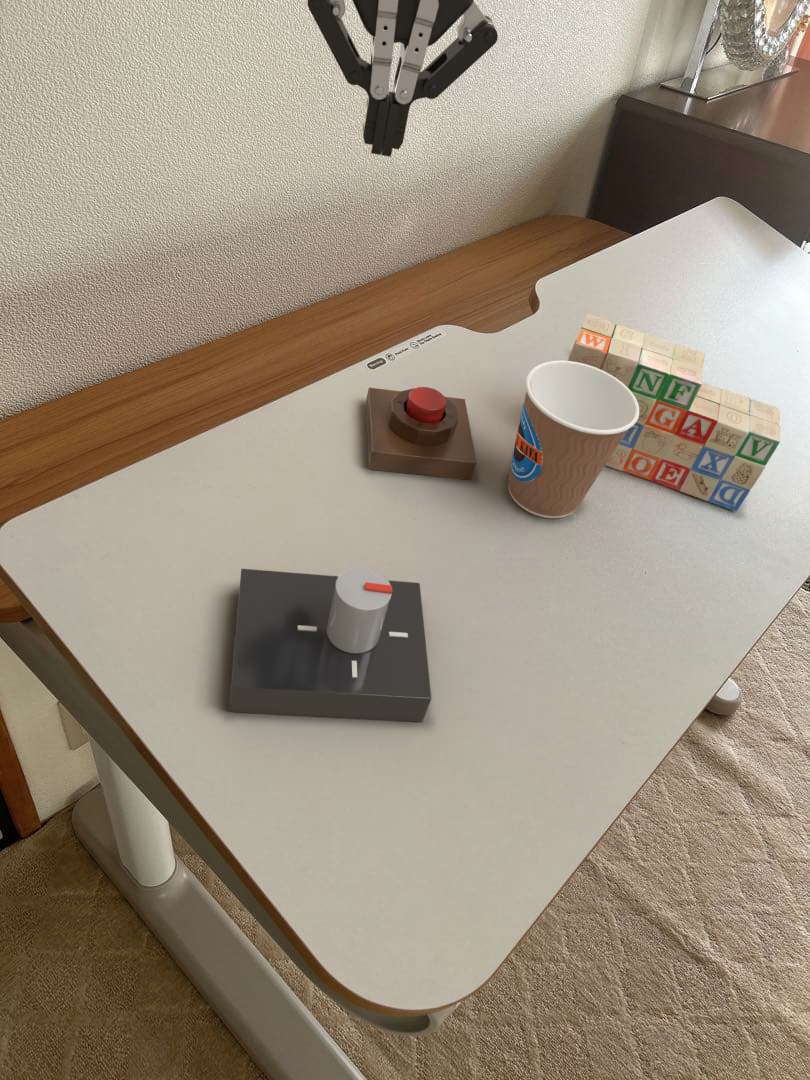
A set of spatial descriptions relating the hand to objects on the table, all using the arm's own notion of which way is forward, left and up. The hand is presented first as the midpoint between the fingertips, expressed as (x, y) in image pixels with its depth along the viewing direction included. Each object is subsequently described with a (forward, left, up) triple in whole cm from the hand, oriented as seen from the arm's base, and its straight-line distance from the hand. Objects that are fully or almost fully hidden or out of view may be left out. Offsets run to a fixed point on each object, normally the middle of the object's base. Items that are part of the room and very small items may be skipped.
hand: (379, 150), depth 63 cm
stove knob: (+1, -23, -26) cm, 35 cm away
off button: (+9, +4, -25) cm, 27 cm away
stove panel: (0, -23, -29) cm, 37 cm away
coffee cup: (+21, -2, -29) cm, 36 cm away
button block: (+9, +4, -29) cm, 31 cm away
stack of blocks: (+33, +5, -29) cm, 44 cm away
